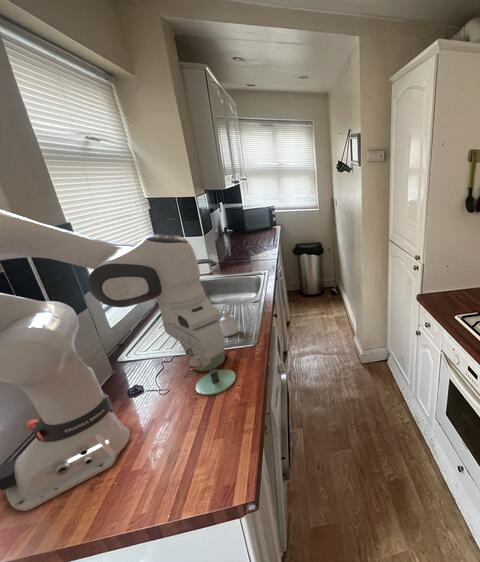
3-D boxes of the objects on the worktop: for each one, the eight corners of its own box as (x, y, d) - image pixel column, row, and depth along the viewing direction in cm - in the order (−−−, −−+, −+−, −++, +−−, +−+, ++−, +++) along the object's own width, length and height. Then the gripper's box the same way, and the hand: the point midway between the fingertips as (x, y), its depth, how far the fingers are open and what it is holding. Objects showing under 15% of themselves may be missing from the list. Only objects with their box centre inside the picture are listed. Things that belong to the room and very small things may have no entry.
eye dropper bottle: (235, 336, 129) (230, 310, 124) (222, 337, 128) (215, 311, 124) (238, 330, 133) (233, 305, 128) (225, 331, 132) (219, 306, 128)
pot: (203, 375, 105) (197, 355, 102) (188, 365, 111) (181, 346, 108) (231, 360, 113) (226, 340, 110) (215, 351, 119) (210, 332, 115)
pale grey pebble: (197, 373, 70) (195, 364, 70) (184, 367, 73) (182, 358, 72) (214, 363, 74) (212, 354, 73) (202, 357, 76) (199, 349, 75)
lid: (209, 402, 94) (205, 389, 92) (188, 387, 100) (184, 375, 98) (243, 380, 103) (240, 367, 101) (223, 367, 109) (220, 356, 107)
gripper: (147, 301, 71) (163, 352, 76) (194, 325, 60) (208, 382, 65) (176, 292, 75) (189, 340, 81) (224, 313, 65) (235, 367, 70)
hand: (198, 359), depth 73 cm, fingers closed on pale grey pebble, 5 cm apart
